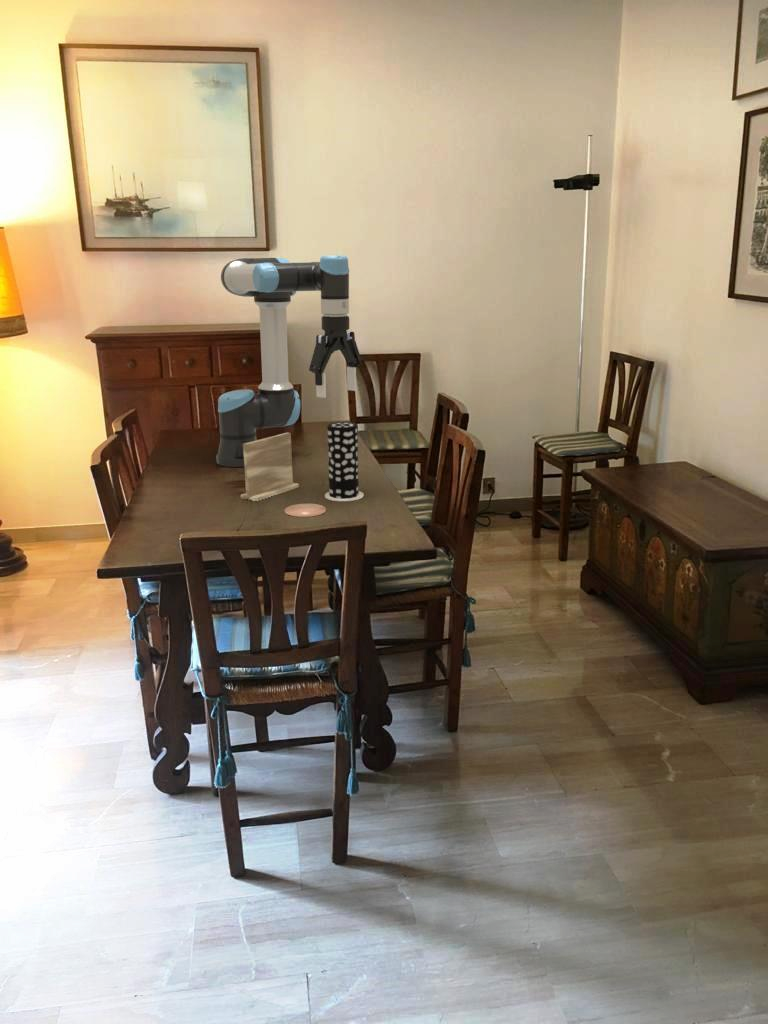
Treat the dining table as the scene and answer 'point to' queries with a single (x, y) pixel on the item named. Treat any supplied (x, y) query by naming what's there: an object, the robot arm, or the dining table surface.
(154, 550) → the dining table surface
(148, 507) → the dining table surface
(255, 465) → the birch shelf
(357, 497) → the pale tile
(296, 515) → the pink round disc
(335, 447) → the spotted tube
